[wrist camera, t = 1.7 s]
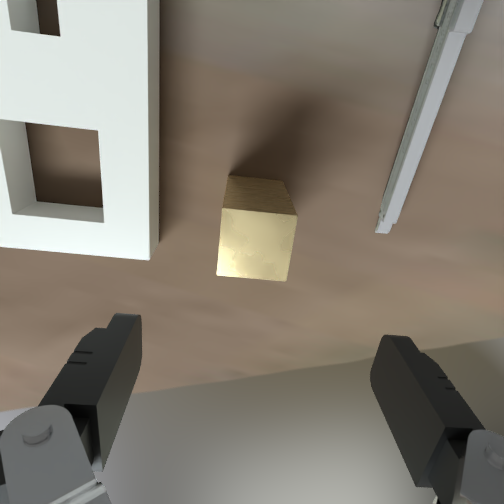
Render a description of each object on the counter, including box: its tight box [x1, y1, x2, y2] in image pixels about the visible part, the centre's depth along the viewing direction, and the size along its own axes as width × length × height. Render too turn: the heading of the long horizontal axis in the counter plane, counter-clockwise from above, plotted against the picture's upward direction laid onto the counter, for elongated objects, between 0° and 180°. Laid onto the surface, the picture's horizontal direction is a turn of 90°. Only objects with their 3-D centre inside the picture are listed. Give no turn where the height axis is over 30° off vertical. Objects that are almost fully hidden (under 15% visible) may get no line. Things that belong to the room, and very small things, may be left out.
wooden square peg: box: [217, 175, 298, 281], centre depth 23 cm, size 4×4×8 cm
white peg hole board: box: [0, 0, 160, 260], centre depth 22 cm, size 12×20×3 cm, turn 173°
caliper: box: [375, 0, 484, 233], centre depth 21 cm, size 20×1×6 cm, turn 176°
